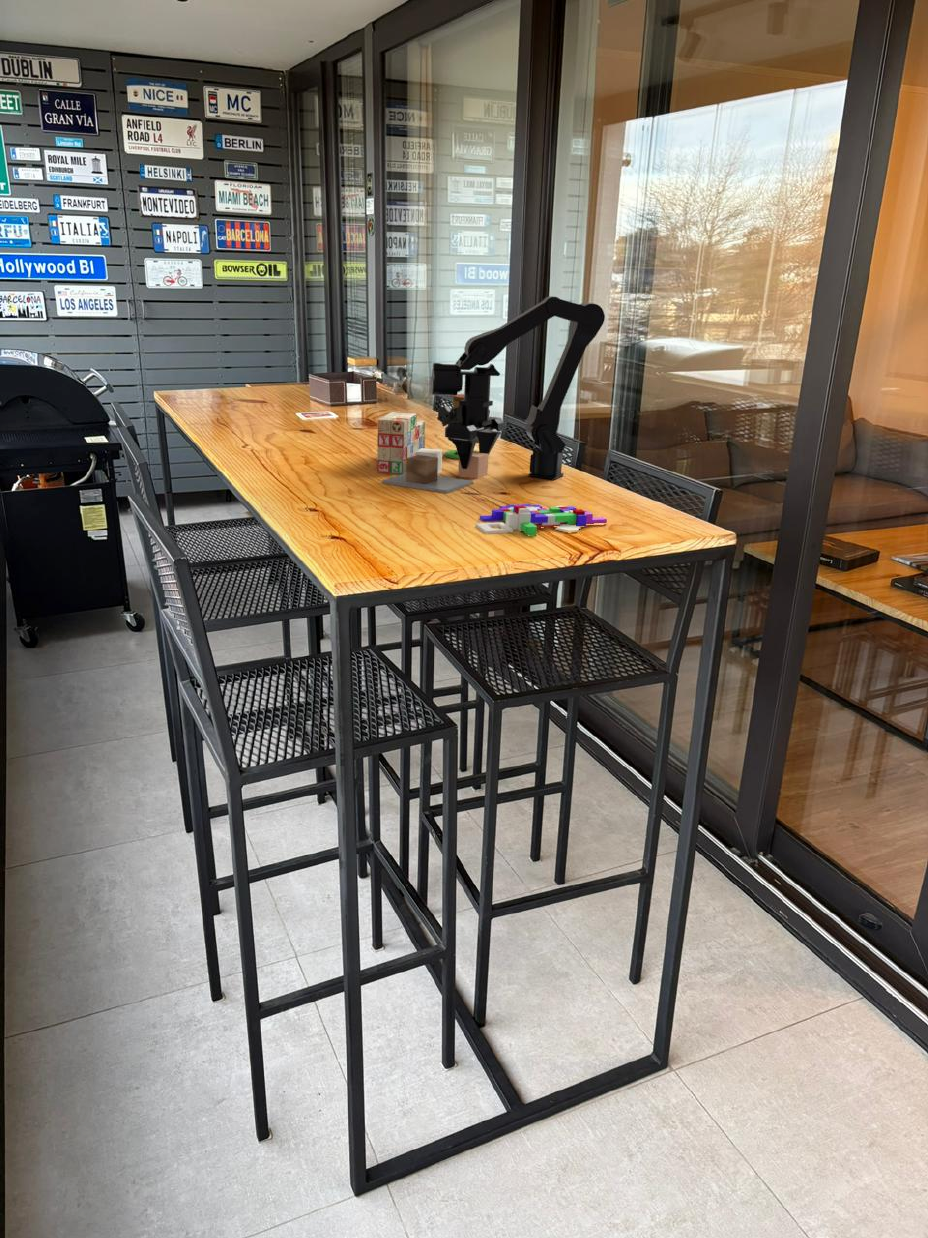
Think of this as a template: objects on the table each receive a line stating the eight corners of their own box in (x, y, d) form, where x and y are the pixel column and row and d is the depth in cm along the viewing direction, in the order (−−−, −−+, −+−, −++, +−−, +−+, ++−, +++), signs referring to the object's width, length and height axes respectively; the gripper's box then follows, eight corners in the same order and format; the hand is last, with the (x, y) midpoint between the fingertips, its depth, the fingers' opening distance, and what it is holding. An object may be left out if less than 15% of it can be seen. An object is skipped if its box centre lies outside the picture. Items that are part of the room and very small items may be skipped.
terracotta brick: (487, 475, 208) (488, 453, 206) (477, 479, 204) (478, 457, 202) (468, 472, 210) (469, 451, 208) (458, 476, 206) (459, 454, 204)
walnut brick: (437, 480, 197) (437, 457, 196) (425, 484, 193) (426, 460, 191) (417, 477, 199) (417, 454, 198) (405, 481, 195) (406, 458, 193)
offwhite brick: (441, 471, 210) (442, 449, 209) (436, 475, 206) (437, 453, 204) (420, 469, 211) (421, 448, 210) (415, 473, 207) (415, 451, 205)
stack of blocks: (400, 456, 226) (401, 406, 221) (424, 458, 225) (426, 408, 220) (376, 472, 206) (377, 418, 202) (403, 475, 205) (404, 420, 200)
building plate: (472, 483, 199) (472, 480, 198) (447, 493, 189) (447, 490, 188) (410, 474, 205) (410, 471, 205) (381, 483, 195) (381, 480, 195)
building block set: (570, 507, 183) (572, 485, 182) (618, 534, 165) (621, 510, 164) (453, 512, 175) (454, 490, 174) (491, 541, 157) (492, 516, 156)
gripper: (463, 389, 212) (461, 455, 217) (424, 396, 196) (422, 467, 202) (506, 393, 207) (503, 461, 213) (470, 401, 192) (467, 473, 197)
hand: (473, 465), depth 206 cm, fingers open, 9 cm apart
